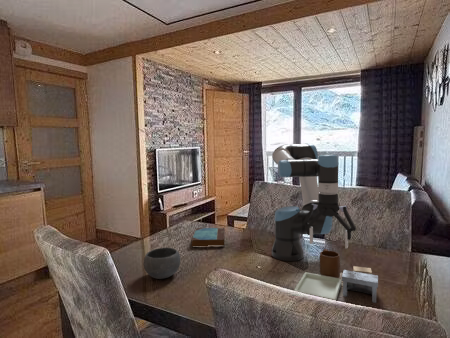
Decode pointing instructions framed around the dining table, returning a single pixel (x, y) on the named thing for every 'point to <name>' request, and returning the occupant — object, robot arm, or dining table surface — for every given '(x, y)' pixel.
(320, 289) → the tray
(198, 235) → the book
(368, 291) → the gray bench
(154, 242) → the dining table surface
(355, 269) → the block
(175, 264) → the bowl
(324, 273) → the mug
